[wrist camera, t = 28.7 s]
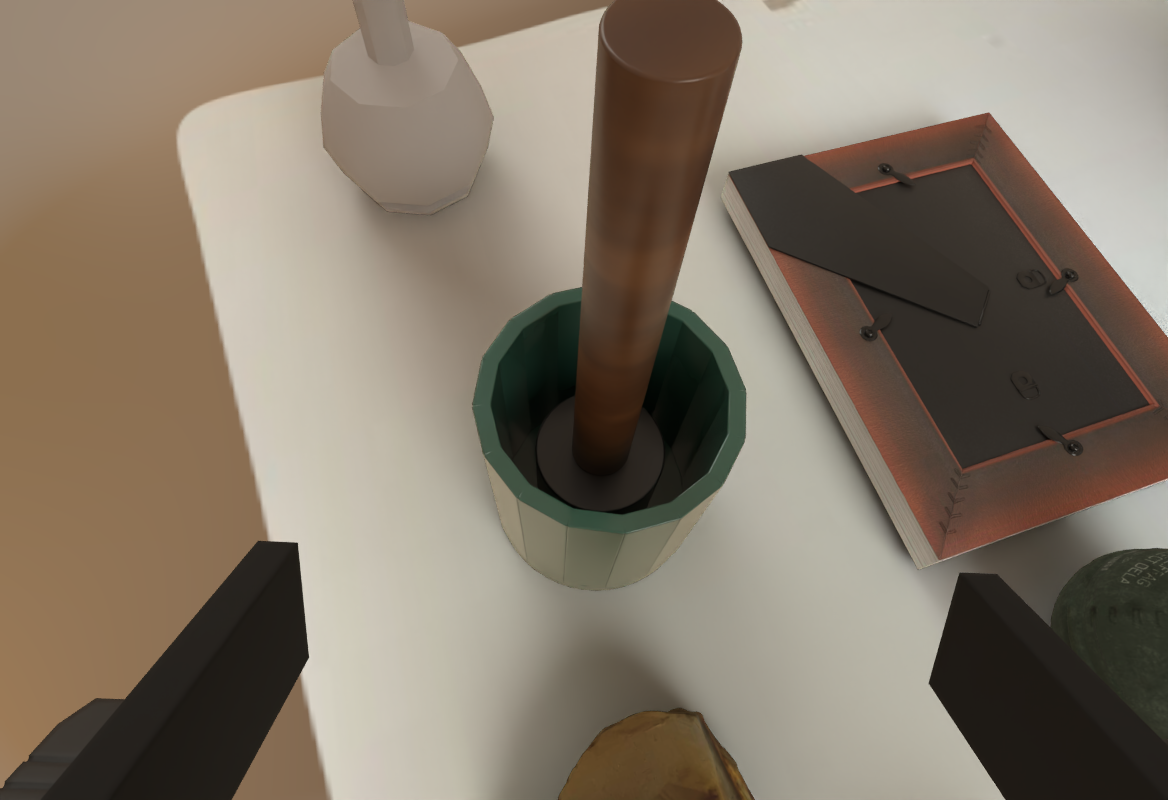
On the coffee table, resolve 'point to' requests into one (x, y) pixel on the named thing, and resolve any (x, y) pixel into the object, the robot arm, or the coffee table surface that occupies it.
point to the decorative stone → (656, 762)
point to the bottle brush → (636, 239)
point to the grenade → (1122, 627)
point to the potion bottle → (403, 112)
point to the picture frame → (960, 331)
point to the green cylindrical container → (673, 398)
